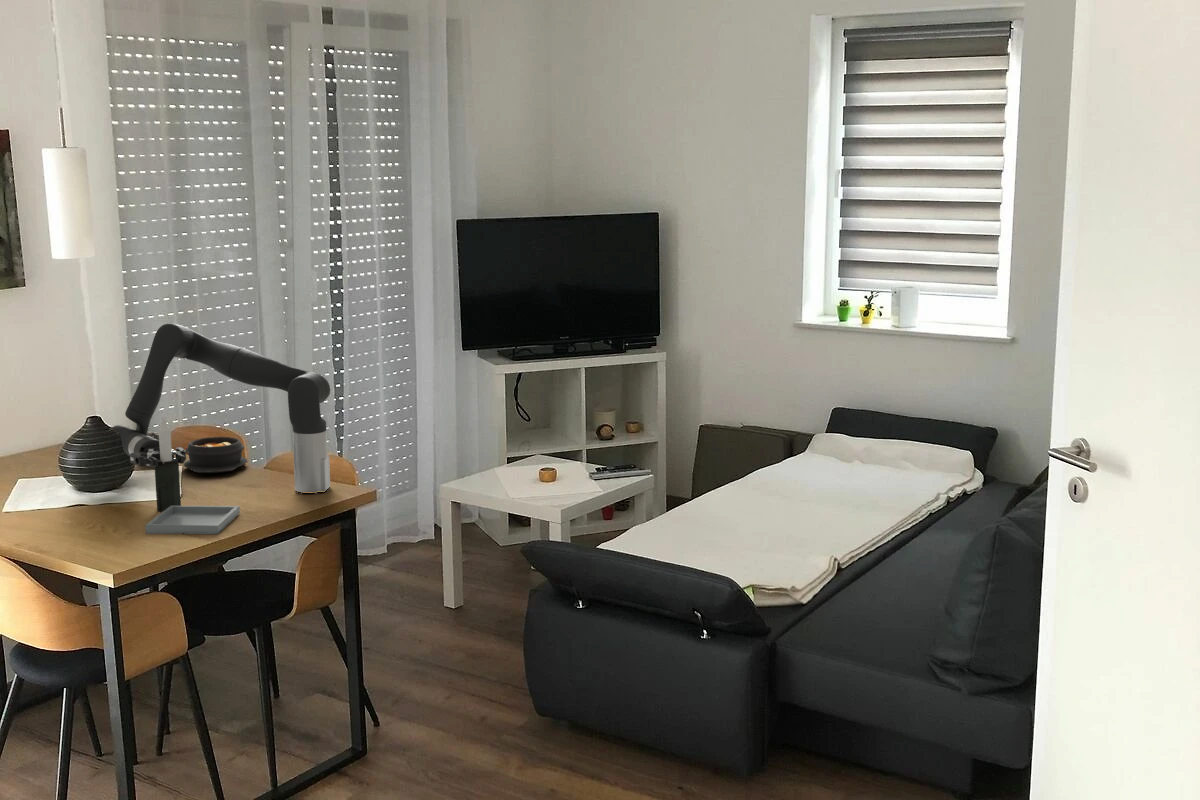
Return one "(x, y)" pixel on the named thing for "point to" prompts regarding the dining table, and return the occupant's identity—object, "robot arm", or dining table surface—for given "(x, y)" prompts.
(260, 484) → the dining table surface
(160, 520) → the tray
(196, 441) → the casserole
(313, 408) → the robot arm
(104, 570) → the dining table surface
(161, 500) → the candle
